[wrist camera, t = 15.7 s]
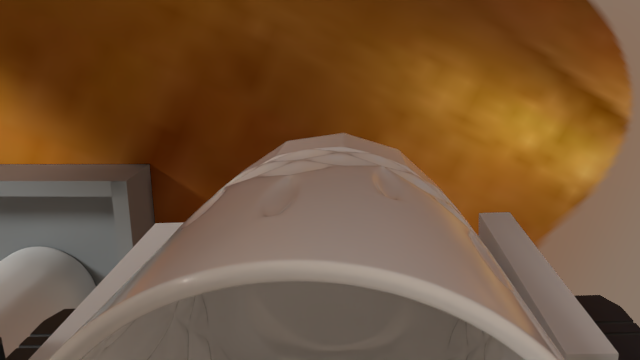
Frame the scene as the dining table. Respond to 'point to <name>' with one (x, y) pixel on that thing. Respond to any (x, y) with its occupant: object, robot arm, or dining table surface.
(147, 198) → the tray
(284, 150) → the white cup
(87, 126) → the dining table surface
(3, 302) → the mug
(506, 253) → the robot arm
